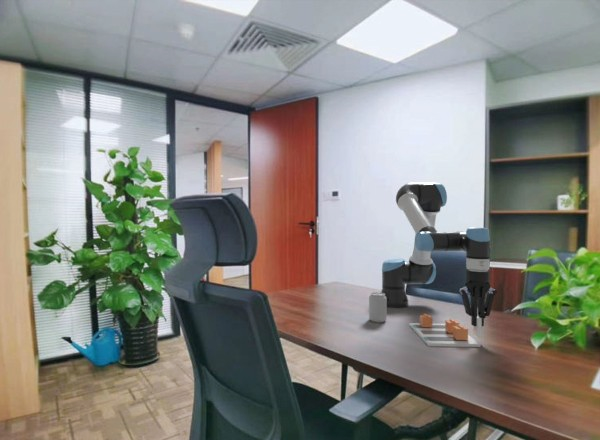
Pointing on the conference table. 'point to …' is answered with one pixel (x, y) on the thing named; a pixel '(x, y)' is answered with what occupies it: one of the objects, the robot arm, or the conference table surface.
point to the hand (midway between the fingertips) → (477, 334)
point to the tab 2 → (450, 325)
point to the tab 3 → (460, 332)
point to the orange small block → (425, 320)
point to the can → (377, 307)
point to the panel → (441, 336)
